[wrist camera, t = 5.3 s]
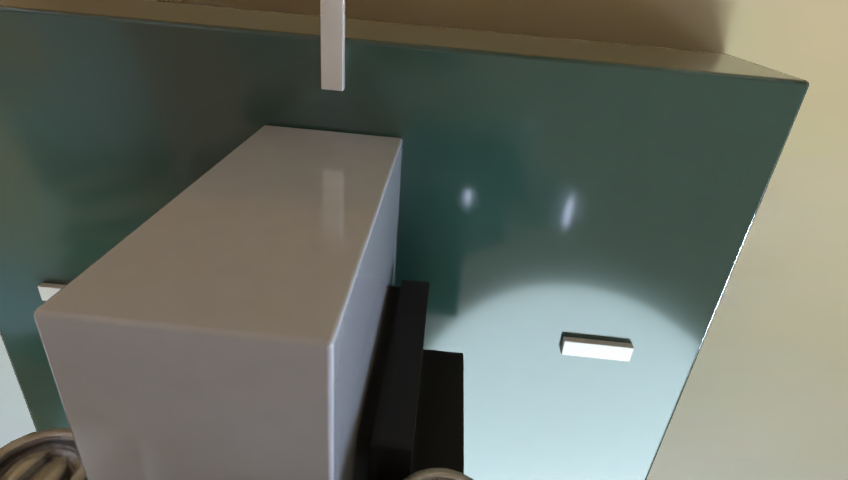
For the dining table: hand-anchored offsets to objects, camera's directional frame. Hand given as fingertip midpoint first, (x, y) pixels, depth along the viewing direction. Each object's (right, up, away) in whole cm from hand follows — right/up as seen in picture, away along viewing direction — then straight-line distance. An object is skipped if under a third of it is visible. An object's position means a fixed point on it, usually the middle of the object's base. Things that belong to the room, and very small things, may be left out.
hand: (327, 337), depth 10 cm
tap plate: (0, +2, +3) cm, 4 cm away
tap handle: (0, 0, 0) cm, 1 cm away
